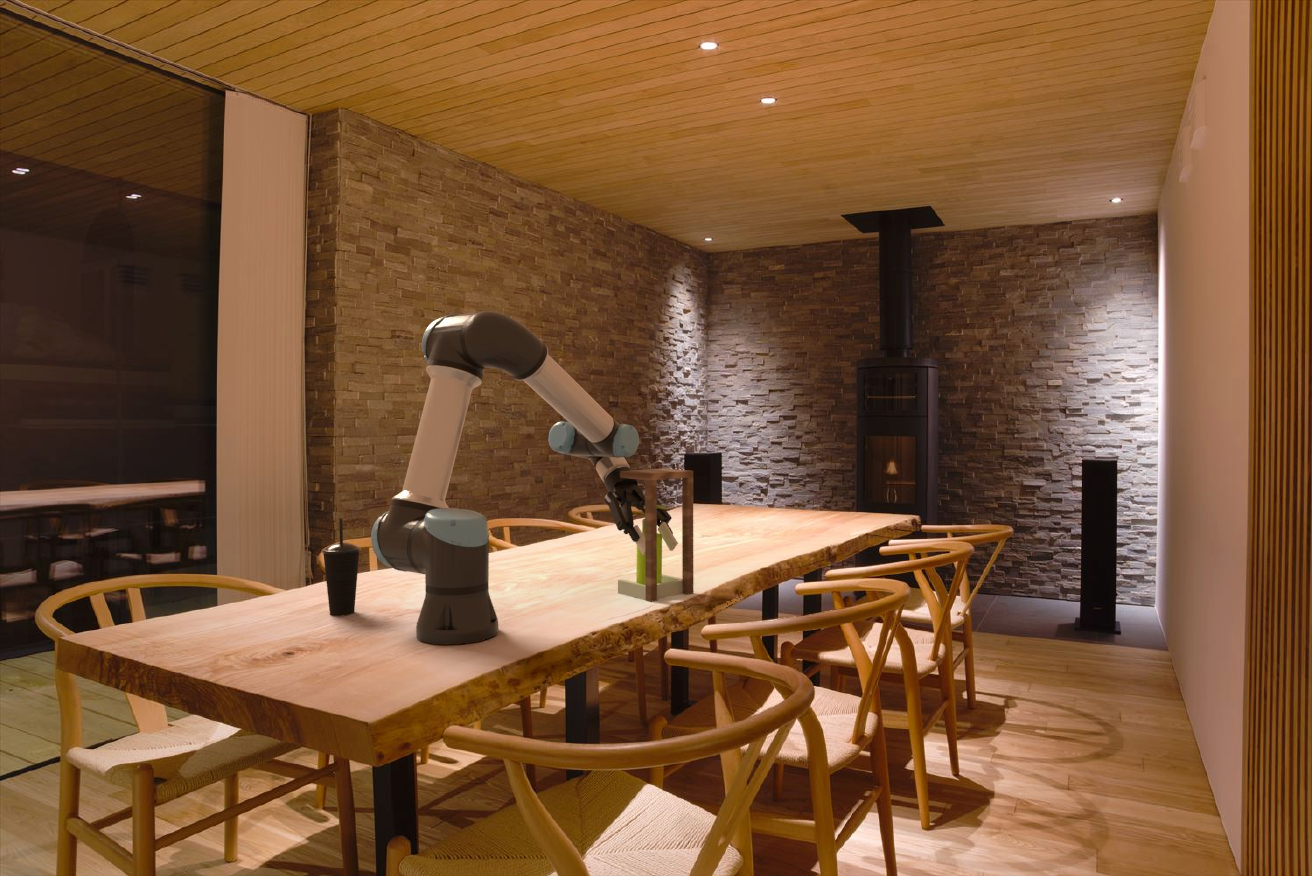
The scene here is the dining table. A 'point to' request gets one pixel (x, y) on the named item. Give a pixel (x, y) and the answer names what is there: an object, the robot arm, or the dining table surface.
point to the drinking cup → (341, 575)
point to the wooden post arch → (651, 525)
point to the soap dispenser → (642, 557)
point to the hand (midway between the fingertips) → (660, 549)
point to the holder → (663, 589)
